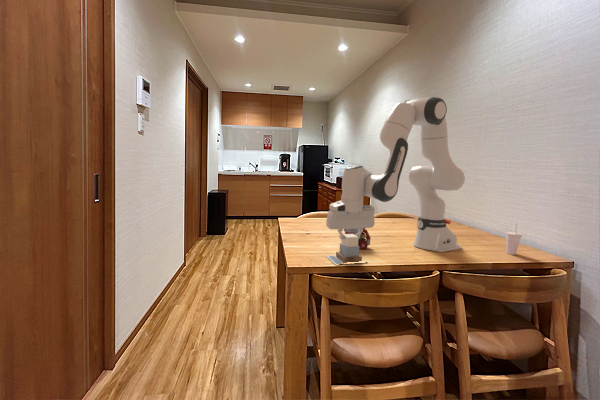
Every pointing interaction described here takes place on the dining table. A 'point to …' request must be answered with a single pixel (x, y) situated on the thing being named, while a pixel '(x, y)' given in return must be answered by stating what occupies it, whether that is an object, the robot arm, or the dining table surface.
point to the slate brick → (349, 251)
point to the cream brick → (350, 240)
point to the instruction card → (334, 259)
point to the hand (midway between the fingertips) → (349, 238)
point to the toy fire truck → (362, 241)
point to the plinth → (348, 258)
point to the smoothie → (512, 241)
